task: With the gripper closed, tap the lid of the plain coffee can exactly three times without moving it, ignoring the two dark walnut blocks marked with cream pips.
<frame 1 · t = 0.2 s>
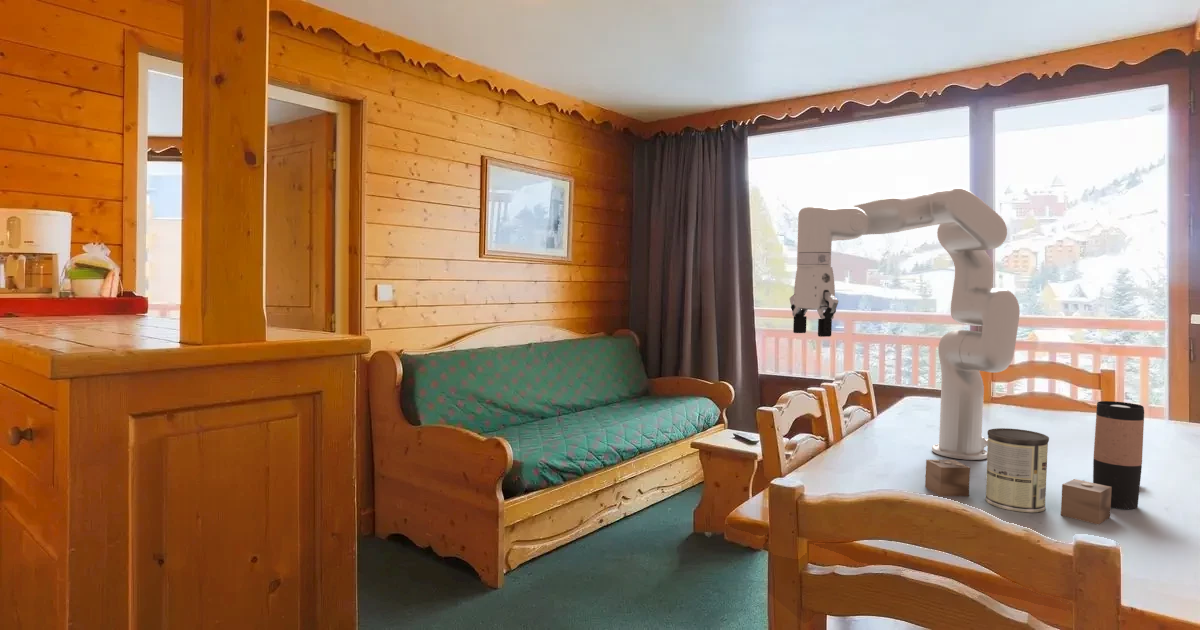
hand: (811, 334, 157), 31 cm above the table, tool pointing down, fingers open, 9 cm apart
one-pip block: (1085, 516, 127), on the table
travel mug: (1114, 504, 134), on the table
three-pip block: (946, 491, 141), on the table
coffee can: (1014, 505, 133), on the table
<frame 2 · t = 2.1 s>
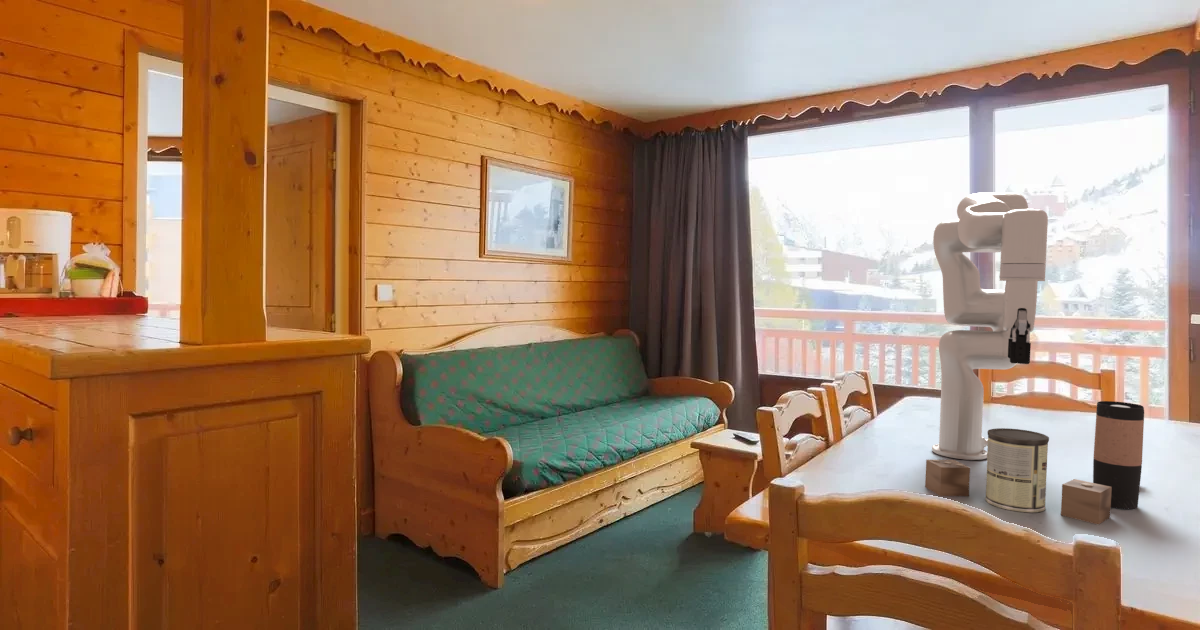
hand: (1018, 360, 132), 28 cm above the table, tool pointing down, fingers open, 9 cm apart
nothing on the table moved.
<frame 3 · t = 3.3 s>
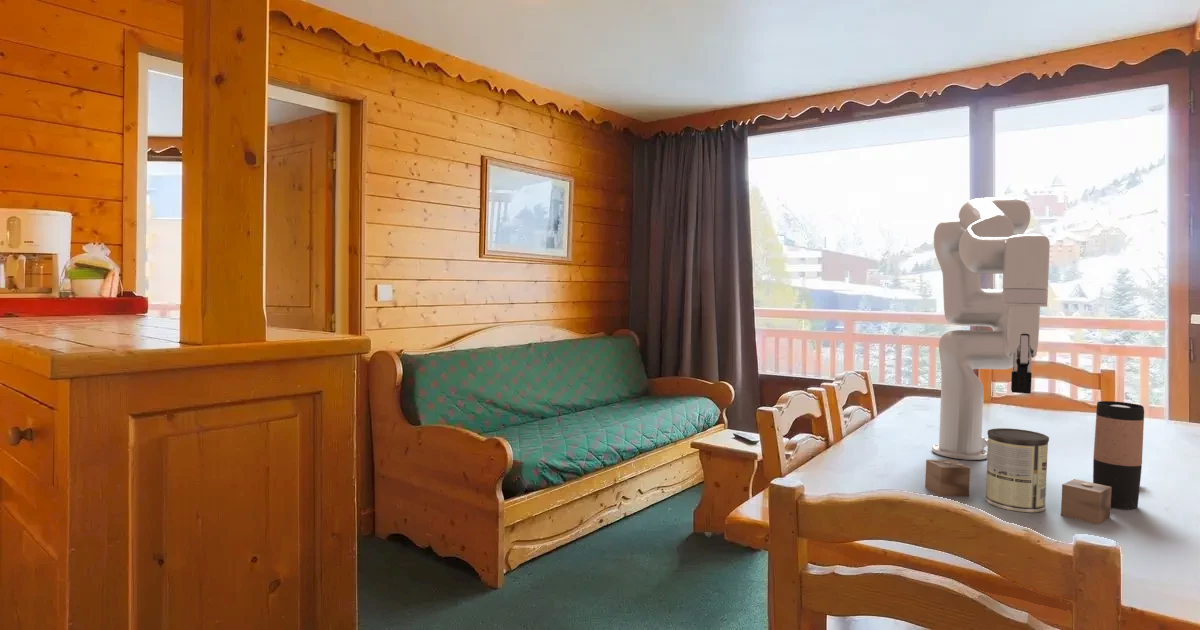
hand: (1020, 392, 132), 22 cm above the table, tool pointing down, fingers closed
nothing on the table moved.
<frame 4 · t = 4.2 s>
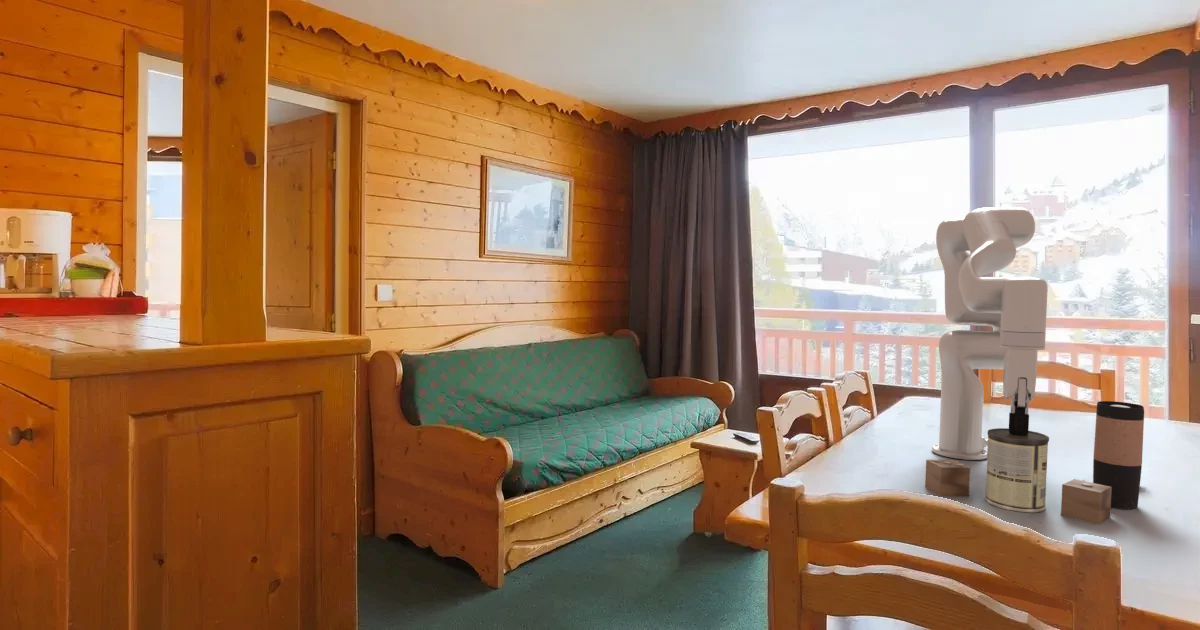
hand: (1018, 433, 132), 14 cm above the table, tool pointing down, fingers closed
coffee can: (1014, 505, 133), on the table, touching gripper
everything else where it was.
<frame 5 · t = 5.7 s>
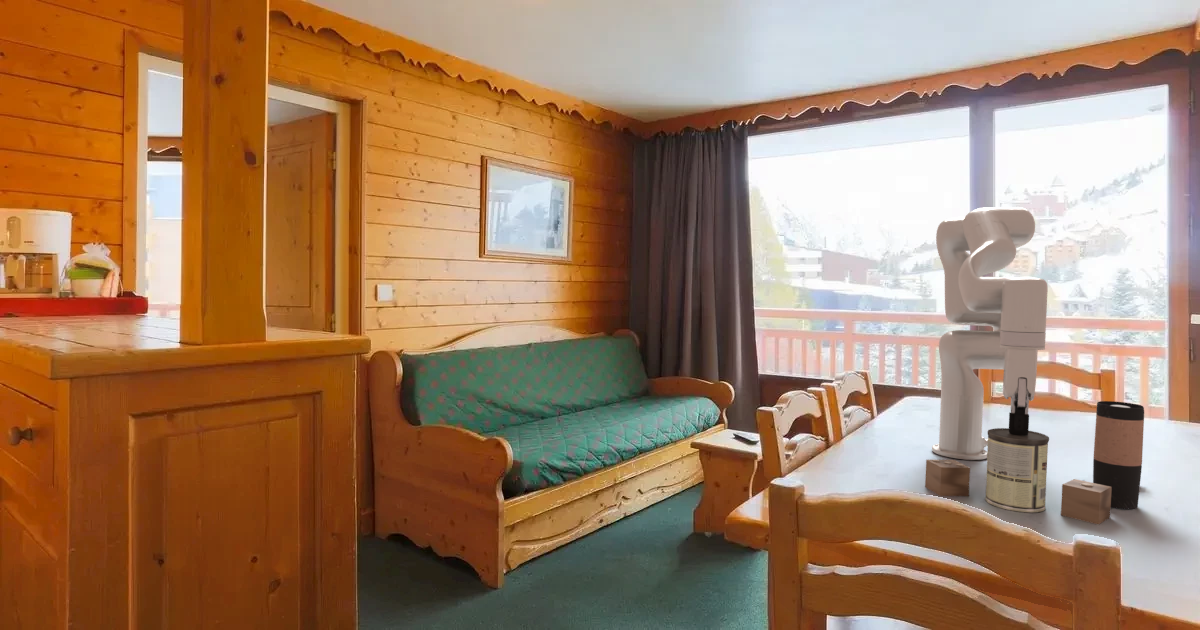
hand: (1018, 433, 132), 14 cm above the table, tool pointing down, fingers closed
nothing on the table moved.
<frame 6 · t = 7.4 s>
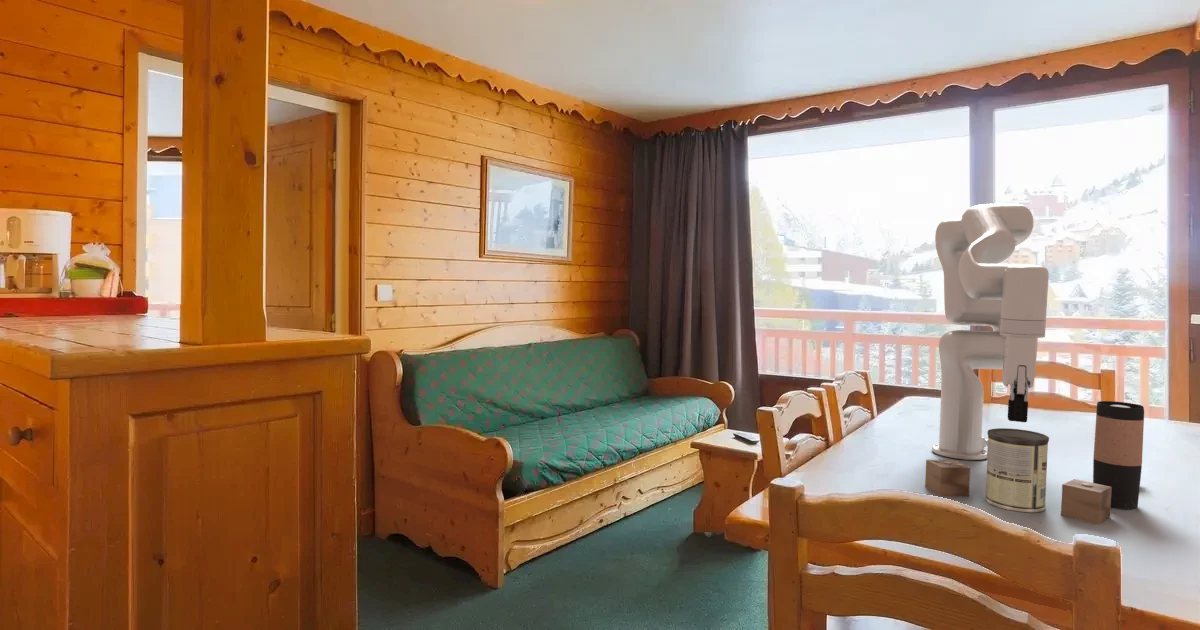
hand: (1017, 420, 133), 17 cm above the table, tool pointing down, fingers closed
coffee can: (1014, 505, 133), on the table
everything else where it was.
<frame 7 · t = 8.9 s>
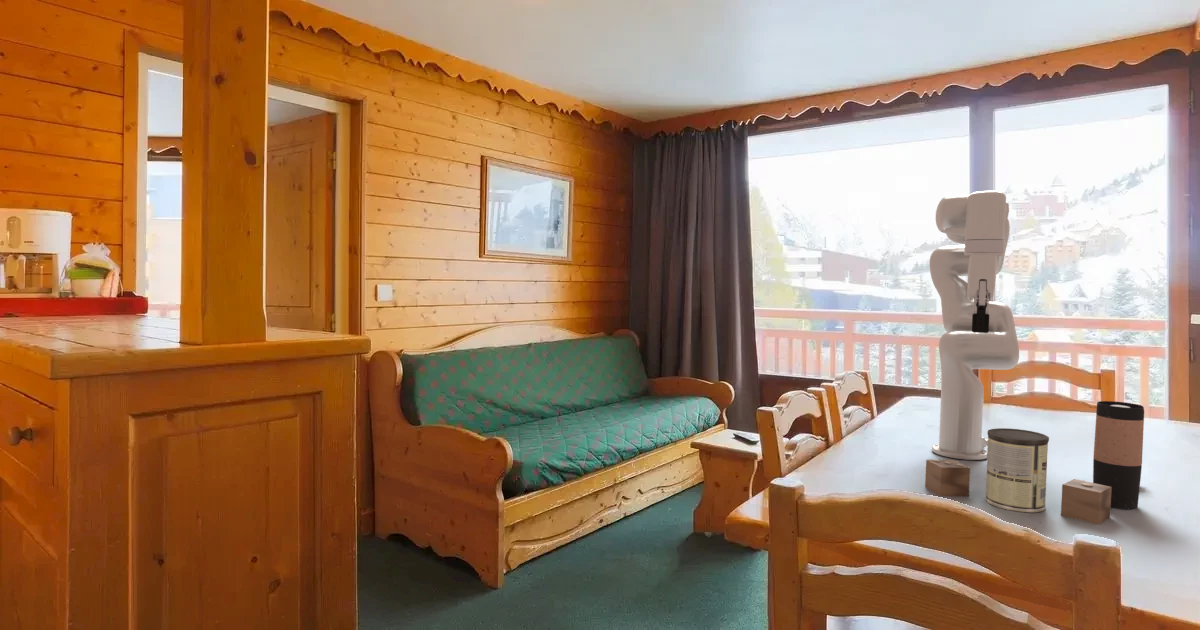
hand: (980, 332, 148), 33 cm above the table, tool pointing down, fingers closed
nothing on the table moved.
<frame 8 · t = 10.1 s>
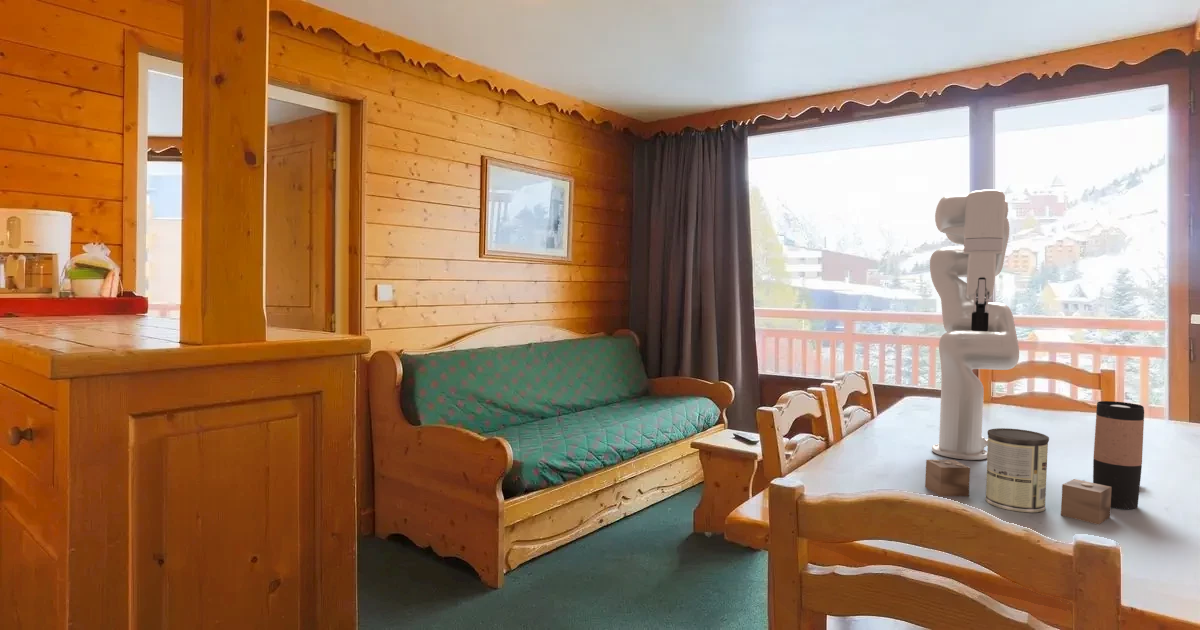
hand: (979, 330, 149), 33 cm above the table, tool pointing down, fingers closed
nothing on the table moved.
at the end: coffee can moved 0.2 cm from its start; coffee can tilted 0°; three-pip block moved 0.1 cm from its start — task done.
